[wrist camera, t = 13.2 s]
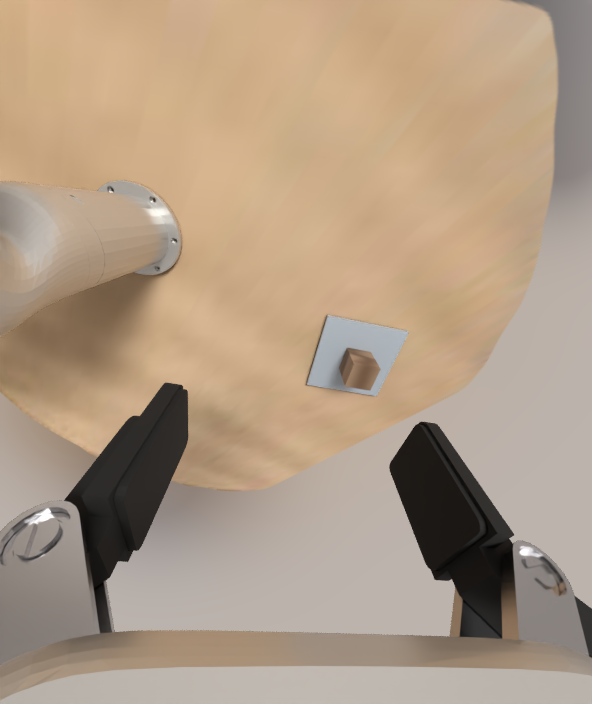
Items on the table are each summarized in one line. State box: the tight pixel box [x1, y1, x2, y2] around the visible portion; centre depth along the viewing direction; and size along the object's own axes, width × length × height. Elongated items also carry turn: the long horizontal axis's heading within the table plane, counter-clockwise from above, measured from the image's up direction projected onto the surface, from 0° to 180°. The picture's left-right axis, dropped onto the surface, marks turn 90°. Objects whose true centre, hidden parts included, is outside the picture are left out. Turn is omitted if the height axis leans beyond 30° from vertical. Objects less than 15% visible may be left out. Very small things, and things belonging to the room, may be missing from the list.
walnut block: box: [339, 348, 381, 391], centre depth 45 cm, size 5×5×6 cm
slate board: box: [307, 315, 409, 396], centre depth 48 cm, size 16×16×1 cm
